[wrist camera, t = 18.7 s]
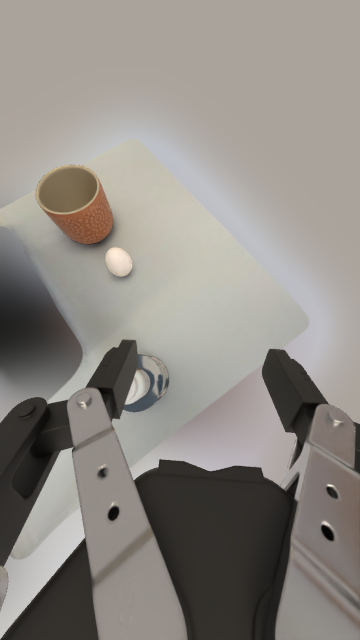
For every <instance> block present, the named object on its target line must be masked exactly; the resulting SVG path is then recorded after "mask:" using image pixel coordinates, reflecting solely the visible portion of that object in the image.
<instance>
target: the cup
mask: <svg viewBox="0 0 360 640" xmlns="http://www.w3.org/2000/svg"><path fill="white" fill-rule="evenodd" d="M137 368H138V369H142V370H144V371H145V372H146V373H147V374H148V376H149V378H150V387H149V390H148V392H147V393H146V394H145V395H144V396H143V397H141V398H140V399H138V400H137V401H135V402H134V403H131V404H127V405H124V408H123V410H125V411H129V412H139V411H143V410H146V409H147V408H149V407H150V406H152V405H153V404H154V403H155V402H156V401H157V400H159V399H160V398H161V397H162V396H163V395H164V393H165V392H166V390H167V387H168V383H169V375H168V371H167V369H166V367H165V365H164V364H163V363H162V362H161V361H160V360H158V359H157V358H154V357H151V356H145V355H141V354H138V367H137Z"/></svg>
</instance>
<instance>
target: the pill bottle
mask: <svg viewBox="0 0 360 640" xmlns="http://www.w3.org/2000/svg"><path fill="white" fill-rule="evenodd" d="M149 387H150V378H149V376H148V374H147V373H146V372H145V371H144V370H142V369H138V368H137V370H136V373H135V376H134V379H133V382H132V385H131V388H130V391H129V393H128V396H127V399H126V402H125V405H127V404H131V403H134V402H135V401H137V400H138V399H140V398H141V397H143V396H144V395H145V394H146V393H147V392H148V390H149Z"/></svg>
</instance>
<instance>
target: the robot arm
mask: <svg viewBox="0 0 360 640" xmlns="http://www.w3.org/2000/svg"><path fill="white" fill-rule="evenodd" d="M137 367H138V354H137V345H136V341H135V340H122V341H121V343H120V345H119V347H118V348H115V347H113V348H112V349H111V350H109V351H108V352H107V353H106V354H105V356H104V358H103V360H102V361H101V363H100V364H99V366H98V368H97V369H96V371H95V373H94V374H93V376H92V378H91V379H90V381H89V383H88V384H87V386H86V387H85V388H84V389H81V390H79V391H77V392H76V393H74V394H73V395H72V396H71V397H70V399H69V400H65V401H60V402H55V403H50V404H47V402H46V400H45V399H43V398H40V397H35V398H30V399H27V400H25V401H23V402H21V403H20V404H18V405H17V406H15V407H14V408H13V409H12V410H11V411H10V412H9V413H8V415H7V416H6V417H5V418H4V419H3V421H2V422H1V423H0V610H1V607H2V604H3V602H4V599H5V596H6V593H7V589H8V573H7V571H6V569H5V568H4V565H5V563H6V561H7V559H8V557H9V555H10V553H11V551H12V549H13V547H14V545H15V543H16V541H17V539H18V536H19V534H20V532H21V530H22V528H23V526H24V524H25V522H26V520H27V518H28V516H29V514H30V512H31V510H32V508H33V506H34V504H35V502H36V500H37V498H38V496H39V494H40V492H41V490H42V488H43V486H44V484H45V482H46V480H47V478H48V475H49V473H50V471H51V469H52V467H53V465H54V463H55V461H56V459H57V457H58V455H59V453H60V451H61V450H64V449H68V448H72V447H74V448H73V449H72V458H73V464H74V470H75V476H76V482H77V489H78V495H79V501H80V507H81V513H82V520H83V526H84V532H85V538H84V539H83V540H82V542H81V543H80V544H79V545H78V547H77V548H76V549H75V550H74V551H73V553H72V554H71V555H70V556H69V557H68V558H67V560H66V561H65V562H64V563H63V564H62V566H61V567H60V568H59V569H58V570H57V571H56V573H55V574H54V575H53V576H52V577H51V579H50V580H49V581H48V582H47V583H46V585H45V586H44V587H43V588H42V589H41V591H40V592H39V593H38V594H37V595H36V596H35V598H34V599H33V600H32V601H31V603H30V604H29V605H28V606H27V607H26V608H25V610H24V611H23V612H22V613H21V614H20V616H19V617H18V618H17V619H16V620H15V621H14V623H13V624H12V625H11V626H10V628H9V629H8V630H7V631H6V633H5V634H4V635H3V637H2V638H1V639H0V640H360V424H358V423H355V422H353V421H352V419H351V418H350V417H349V416H348V415H347V414H346V413H344V412H343V411H342V410H340V409H339V408H337V407H335V406H332V405H329V404H328V402H327V401H326V400H325V398H324V397H323V395H322V394H321V392H320V391H319V390H318V388H317V387H316V385H315V384H314V382H313V381H311V378H310V377H309V375H307V372H306V371H305V370H304V368H303V367H302V366H301V365H300V364H299V363H298V362H297V361H295V360H294V359H290V357H289V356H288V354H287V353H286V351H285V350H280V349H270V350H269V351H268V353H267V356H266V359H265V362H264V365H263V368H262V376H263V379H264V382H265V384H266V386H267V389H268V391H269V394H270V396H271V398H272V401H273V403H274V406H275V408H276V410H277V413H278V415H279V417H280V420H281V422H282V424H283V427H284V429H285V432H291V433H295V434H296V436H297V439H296V440H295V443H294V446H293V450H292V454H291V456H290V460H289V463H288V466H287V470H286V473H285V476H284V478H283V480H282V482H281V484H280V486H279V485H277V484H276V483H274V482H273V481H271V480H269V479H267V478H265V477H264V476H263V473H262V469H261V468H258V467H246V466H232V467H228V468H224V469H220V470H216V471H207V470H205V469H202V468H200V467H197V466H195V465H192V464H189V463H187V462H184V461H171V460H159V467H158V468H154V469H151V470H149V471H147V472H145V473H143V474H142V475H140V476H139V477H137V478H136V479H135V480H133V478H132V475H131V472H130V470H129V467H128V464H127V461H126V459H125V456H124V453H123V451H122V448H121V445H120V442H119V440H118V437H117V434H116V432H115V429H114V427H113V426H112V423H111V422H112V419H113V418H114V419H120V416H121V413H122V411H123V408H124V405H125V402H126V399H127V396H128V393H129V391H130V388H131V385H132V382H133V379H134V376H135V373H136V370H137Z"/></svg>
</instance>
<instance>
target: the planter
mask: <svg viewBox="0 0 360 640" xmlns="http://www.w3.org/2000/svg"><path fill="white" fill-rule="evenodd" d="M36 199H37V202H38V204H39V205H40V207H41V208H42V209H43V211H44V212H45V213H46V214H47V215H48V216H49V217H50V218H51V219H52V221H53V222H54V223H55V224H56V225H57V226H58V227H59V228H60V229H61V230H62V231H63V232H64V233H65V234H66V235H67V236H68V237H69V238H71V239H72V240H74V241H76V242H79V243H83V244H92V243H96V242H99V241H101V240H103V239H104V238H105V237H106V236H107V235H108V234H109V233H110V231H111V229H112V225H113V215H112V212H111V208H110V206H109V203H108V201H107V198H106V195H105V193H104V190H103V188H102V185H101V183H100V181H99V179H98V177H97V176H96V174H95V173H94V172H93V171H92V170H90V169H88V168H86V167H84V166H80V165H65V166H61V167H58V168H55V169H53V170H51V171H50V172H48V173H47V174H46V175H44V176H43V177H42V179H41V180H40V181H39V183H38V185H37V188H36Z"/></svg>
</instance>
